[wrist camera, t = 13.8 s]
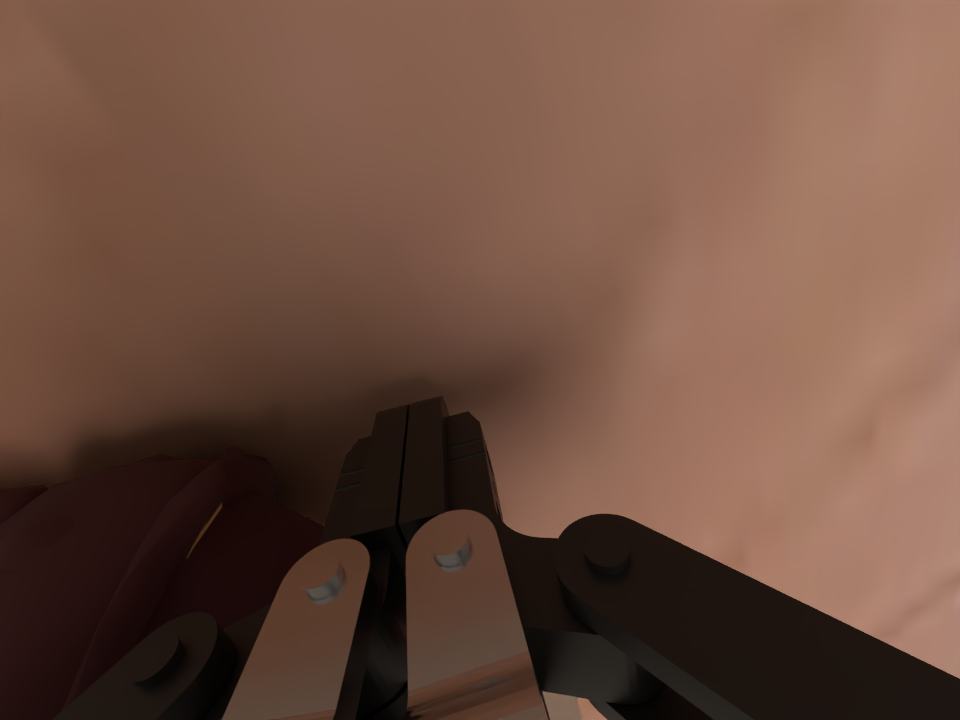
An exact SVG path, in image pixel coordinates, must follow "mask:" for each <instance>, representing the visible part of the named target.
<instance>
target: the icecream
mask: <svg viewBox="0 0 960 720" xmlns="http://www.w3.org/2000/svg"><path fill="white" fill-rule="evenodd" d="M275 489H276V473H275V471H274V469H273V467H272V465H271V464H270V463H269V462H268V460H267V459H266V458H262V457H258V456H253V455H248V454H244V453H243V452H242V451H241V450H240V449H239V448H237V447H233V448H230V449H228V450H227V451H226V452H225V453H224V454H223V455H222V456H221V457H220V458H218V459H217V460H216V461H211V460H203V459H196V458H188V459H180V460H177V459H174V458H172V457H169V456H165V455H161V454H157V455H155V456H152V457H149V458H146V459H143V460H140V461H138V462H137V463H135V464H133V465H131V466H124V467H117V468H110V469H106V470H103V471H100V472H96V473H93V474H90V475H86V476H83V477H80V478H76V479H73V480H70V481H66V482H63V483H59V484H56V485H55V486H53V487H52V488H50V489H48V488H47V487H45V486H43V485H42V486H32V487H22V488H12V489H3V490H0V720H52V719H53V718H54V717H56V716H57V715H58V714H59V713H60V712H61V711H62V710H64V709H65V708H66V707H67V706H68V705H69V704H70V703H72V702H73V701H74V700H75V699H76V698H77V697H78V696H80V695H81V694H82V693H83V692H84V691H85V690H86V689H87V688H89V687H90V686H91V685H92V684H93V683H94V682H95V681H97V680H98V679H99V678H100V677H101V676H102V675H103V674H105V673H106V672H107V671H108V670H109V669H110V668H111V667H112V666H114V665H115V664H116V663H117V662H118V661H119V660H120V659H122V658H123V657H124V656H125V655H126V654H127V653H128V652H130V651H131V650H132V649H133V648H134V647H135V646H136V645H138V644H139V643H140V642H141V641H142V640H143V639H145V638H146V637H147V636H148V635H149V634H151V633H152V632H153V631H155V630H156V629H158V628H159V627H161V626H162V625H164V624H166V623H167V622H169V621H171V620H173V619H175V618H177V617H179V616H182V615H185V614H189V613H194V612H204V613H208V614H209V615H211V616H212V617H213V618H214V619H215V620H216V621H217V623H218V624H219V625H220V626H221V627H222V629H224V628H226V627H228V626H230V625H232V624H233V623H235V622H237V621H239V620H241V619H243V618H245V617H247V616H248V615H250V614H252V613H254V612H256V611H258V610H260V609H261V608H263V607H265V606H267V605H269V604H270V603H272V602H273V601H274V598H275V596H276V594H277V591H278V589H279V587H280V585H281V583H282V581H283V579H284V577H285V576H286V574H287V573H288V571H289V570H290V569H291V568H292V567H293V566H294V564H295V563H296V562H297V561H298V560H300V559H301V558H302V557H303V556H304V555H305V554H307V553H308V552H310V551H311V550H313V549H314V548H316V547H318V546H319V544H320V540H321V537H322V534H323V530H324V527H323V526H321V525H319V524H318V523H316V522H314V521H312V520H310V519H308V518H306V517H304V516H302V515H300V514H299V513H297V512H295V511H293V510H291V509H289V508H287V507H285V506H283V505H281V504H279V503H278V502H276V501H274V494H275Z"/></svg>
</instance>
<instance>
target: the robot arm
mask: <svg viewBox="0 0 960 720" xmlns="http://www.w3.org/2000/svg"><path fill="white" fill-rule="evenodd" d="M336 489H337V492H335V494H334V497H333V500H332V504H331V507H330V510H329V514H328V517H327V520H326V524H325V527H324V530H323V534H322V537H321V540H320V544H319V546H318V547H316V548H314V549H313V550H311V551H310V552H308V553H307V554H305V555H304V556H303V557H302V558H301V559H300V560H298V561H297V562H296V563H295V564H294V566H293V567H292V568H291V569H290V570H289V571H288V573H287V574H286V576H285V577H284V579H283V581H282V583H281V585H280V587H279V589H278V591H277V594H276V596H275V598H274V601H273V602H272V603H270V604H269V605H267V606H265V607H263V608H261V609H260V610H258V611H256V612H254V613H252V614H250V615H248V616H247V617H245V618H243V619H241V620H239V621H237V622H235V623H233V624H232V625H230V626H228V627H226V628H224V629H222V627H221V626H220V625H219V624H218V623H217V621H216V620H215V619H214V618H213V617H212V616H211V615H209V614H208V613H204V612H194V613H189V614H185V615H182V616H179V617H177V618H175V619H173V620H171V621H169V622H167V623H166V624H164V625H162V626H161V627H159V628H158V629H156V630H155V631H153V632H152V633H151V634H149V635H148V636H147V637H146V638H145V639H143V640H142V641H141V642H140V643H139V644H138V645H136V646H135V647H134V648H133V649H132V650H131V651H130V652H128V653H127V654H126V655H125V656H124V657H123V658H122V659H120V660H119V661H118V662H117V663H116V664H115V665H114V666H112V667H111V668H110V669H109V670H108V671H107V672H106V673H105V674H103V675H102V676H101V677H100V678H99V679H98V680H97V681H95V682H94V683H93V684H92V685H91V686H90V687H89V688H87V689H86V690H85V691H84V692H83V693H82V694H81V695H80V696H78V697H77V698H76V699H75V700H74V701H73V702H72V703H70V704H69V705H68V706H67V707H66V708H65V709H64V710H62V711H61V712H60V713H59V714H58V715H57V716H56V717H54V718H53V719H52V720H550V717H549V713H548V710H547V706H546V702H545V699H544V695H543V692H549V693H556V694H562V695H568V696H574V697H580V698H586V699H589V701H590V702H591V704H592V705H593V706H594V707H595V708H596V709H597V710H598V711H599V712H600V713H601V714H602V715H603V716H604V717H605V718H607V719H608V720H960V679H959V678H957V677H955V676H953V675H951V674H949V673H946V672H944V671H942V670H940V669H938V668H936V667H934V666H932V665H930V664H928V663H926V662H924V661H922V660H920V659H918V658H916V657H914V656H911V655H909V654H907V653H905V652H903V651H901V650H899V649H897V648H895V647H893V646H891V645H889V644H887V643H885V642H883V641H881V640H879V639H876V638H874V637H872V636H870V635H868V634H866V633H864V632H862V631H860V630H858V629H856V628H854V627H852V626H850V625H848V624H846V623H844V622H841V621H839V620H837V619H835V618H833V617H831V616H829V615H827V614H825V613H823V612H821V611H819V610H817V609H815V608H813V607H811V606H809V605H806V604H804V603H802V602H800V601H798V600H796V599H794V598H792V597H790V596H788V595H786V594H784V593H782V592H780V591H778V590H776V589H774V588H772V587H769V586H767V585H765V584H763V583H761V582H759V581H757V580H755V579H753V578H751V577H749V576H747V575H745V574H743V573H741V572H739V571H737V570H734V569H732V568H730V567H728V566H726V565H724V564H722V563H720V562H718V561H716V560H714V559H712V558H710V557H708V556H706V555H704V554H702V553H699V552H697V551H695V550H693V549H691V548H689V547H687V546H685V545H683V544H681V543H679V542H677V541H675V540H673V539H671V538H669V537H667V536H664V535H662V534H660V533H658V532H656V531H654V530H652V529H650V528H648V527H646V526H644V525H642V524H640V523H638V522H636V521H634V520H631V519H629V518H626V517H623V516H619V515H613V514H595V515H590V516H586V517H583V518H581V519H579V520H577V521H575V522H573V523H572V524H570V525H569V526H568V527H567V528H566V529H565V530H564V531H563V532H562V534H561V535H560V536H559V538H558V539H557V538H538V537H530V536H526V535H523V534H520V533H518V532H515V531H514V530H512V529H510V528H509V527H508V526H507V525H505V524H504V523H503V518H502V512H501V508H500V502H499V497H498V493H497V487H496V482H495V477H494V472H493V469H492V465H491V461H490V458H489V454H488V451H487V447H486V443H485V440H484V436H483V432H482V429H481V425H480V422H479V421H478V420H477V419H476V418H475V417H474V416H473V415H471V414H470V413H469V412H465V413H461V414H457V415H453V416H449V414H448V411H447V408H446V405H445V402H444V399H443V397H442V396H440V397H436V398H432V399H428V400H424V401H420V402H416V403H412V404H410V405H409V404H408V405H404V406H400V407H396V408H392V409H388V410H384V411H380V412H378V413H377V415H376V418H375V423H374V427H373V432H372V436H369V437H365V438H361V439H359V440H358V441H357V442H356V444H355V445H354V446H353V447H352V449H351V450H350V451H349V452H348V454H347V455H346V457H345V460H344V463H343V467H342V470H341V477H339V480H338V484H337V487H336Z"/></svg>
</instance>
